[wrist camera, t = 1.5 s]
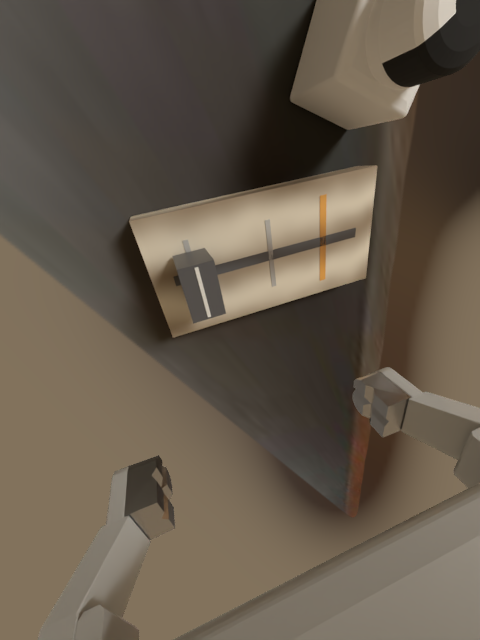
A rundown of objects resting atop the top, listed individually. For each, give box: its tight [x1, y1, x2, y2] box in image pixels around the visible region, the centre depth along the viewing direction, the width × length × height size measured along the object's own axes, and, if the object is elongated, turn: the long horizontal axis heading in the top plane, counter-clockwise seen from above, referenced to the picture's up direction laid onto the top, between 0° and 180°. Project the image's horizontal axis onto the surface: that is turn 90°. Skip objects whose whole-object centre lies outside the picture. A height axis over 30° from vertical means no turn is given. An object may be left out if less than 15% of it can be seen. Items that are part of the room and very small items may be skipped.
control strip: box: [129, 166, 377, 338], centre depth 28 cm, size 12×24×3 cm, turn 100°
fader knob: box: [172, 248, 226, 324], centre depth 23 cm, size 5×3×4 cm, turn 10°
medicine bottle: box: [290, 0, 480, 130], centre depth 18 cm, size 7×7×12 cm
